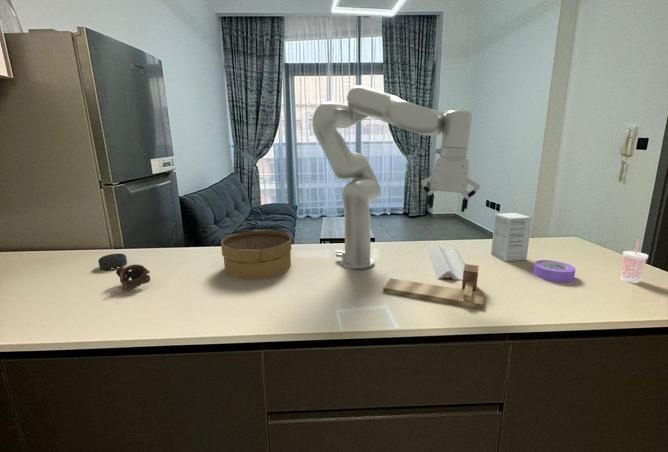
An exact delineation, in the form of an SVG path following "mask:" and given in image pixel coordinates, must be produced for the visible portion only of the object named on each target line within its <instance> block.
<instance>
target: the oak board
mask: <svg viewBox="0 0 668 452" xmlns="http://www.w3.org/2000/svg"><path fill="white" fill-rule="evenodd" d="M382 292H383V293H387V294H391V295H392V294H393V295H399V296H404V297H409V298H416V299H420V300H427V301H432V302H438V303H442V304H443V303H444V304H448V305H454V306H462V307H466V308H473V309H478V310H483V309H484V296H485V295H484V294H485V293H484V292H481V291H477V290H476V291H472V297H471V301H468V300H463V296H464V290H463V289H462V288H457V287H456V288H455V287H449V286H445V285H444V286H443V285H437V284H430V283H424V282H419V281H418V282H417V281H412V280H407V279H406V280H405V279H404V280H403V279H398V278H392V277H391V278H390V277H389V279H388V280H387V282H386V284H384V285H383V289H382Z"/></svg>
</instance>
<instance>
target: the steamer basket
mask: <svg viewBox="0 0 668 452" xmlns="http://www.w3.org/2000/svg"><path fill="white" fill-rule="evenodd" d="M220 244H221V245H220V247H221V255H222V257H223V262H224V263H223V264H224V265H223V267H224V273H225V274H226V276H228V277H229V278H232V279H236V280H246V281H253V280H255V279H256V280H264V278H265V279H270V278H273V277H274V278H275V277H277V275H278V276H280V275H282V274H285V273H286V272H288V271H289V270H290V268H291V267H292V261H291V259H292V258H291V257H292V256H291V254H292V253H291V251H292V238H291V235H289V234H288V233H286V232H282V231H276V230H253V231H252V230H251V231H245V232H239V233H235V234H231V235H229V236H227V237H225V238H223V239H222V240H221V242H220Z"/></svg>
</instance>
